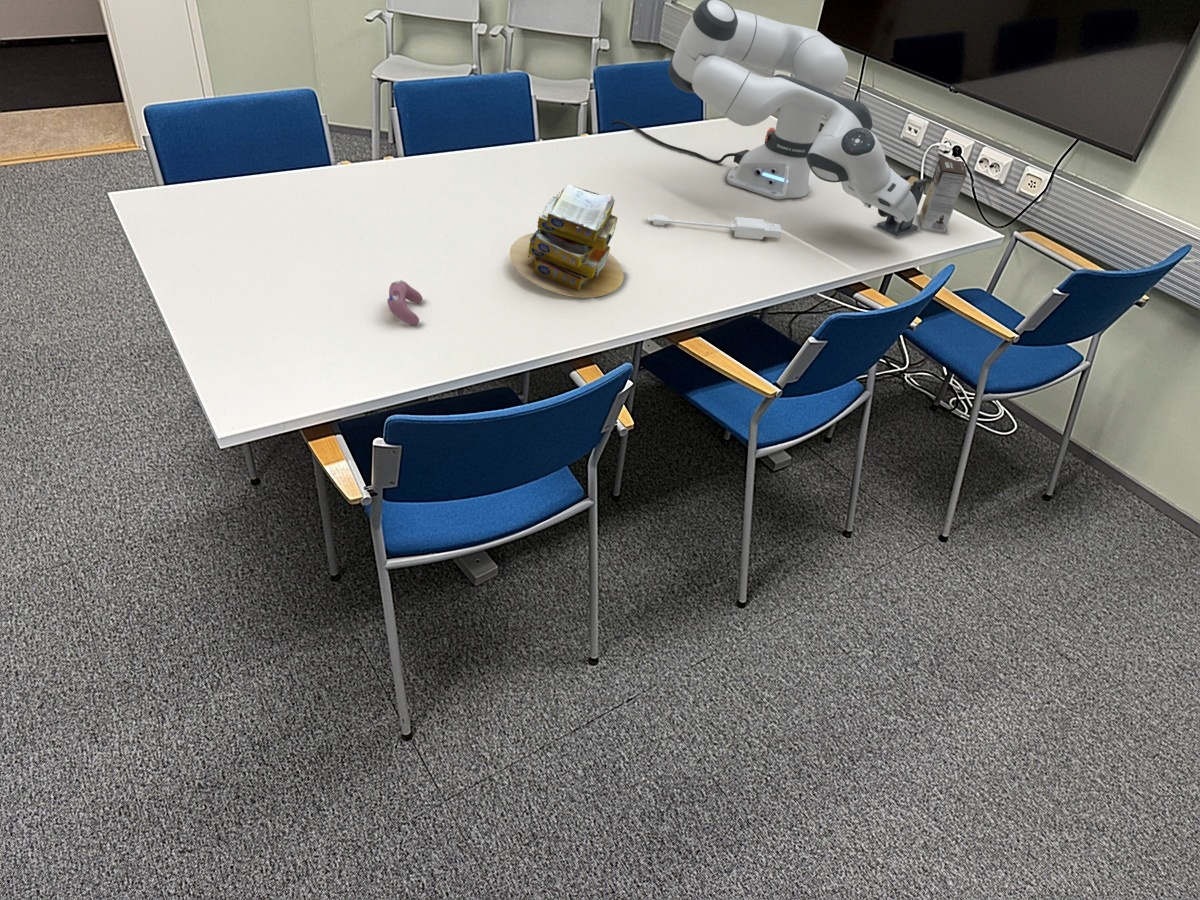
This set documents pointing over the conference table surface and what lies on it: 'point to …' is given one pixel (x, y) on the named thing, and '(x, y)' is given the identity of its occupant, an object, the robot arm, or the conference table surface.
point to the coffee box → (942, 194)
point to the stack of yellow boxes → (571, 246)
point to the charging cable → (733, 226)
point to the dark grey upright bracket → (903, 227)
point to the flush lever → (911, 181)
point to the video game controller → (403, 301)
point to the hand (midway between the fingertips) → (884, 212)
